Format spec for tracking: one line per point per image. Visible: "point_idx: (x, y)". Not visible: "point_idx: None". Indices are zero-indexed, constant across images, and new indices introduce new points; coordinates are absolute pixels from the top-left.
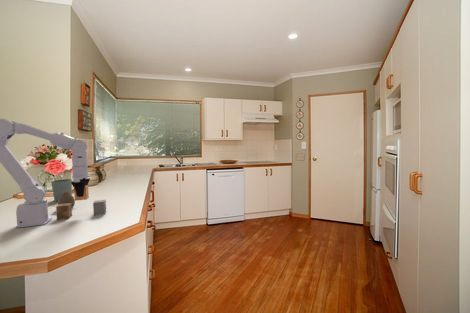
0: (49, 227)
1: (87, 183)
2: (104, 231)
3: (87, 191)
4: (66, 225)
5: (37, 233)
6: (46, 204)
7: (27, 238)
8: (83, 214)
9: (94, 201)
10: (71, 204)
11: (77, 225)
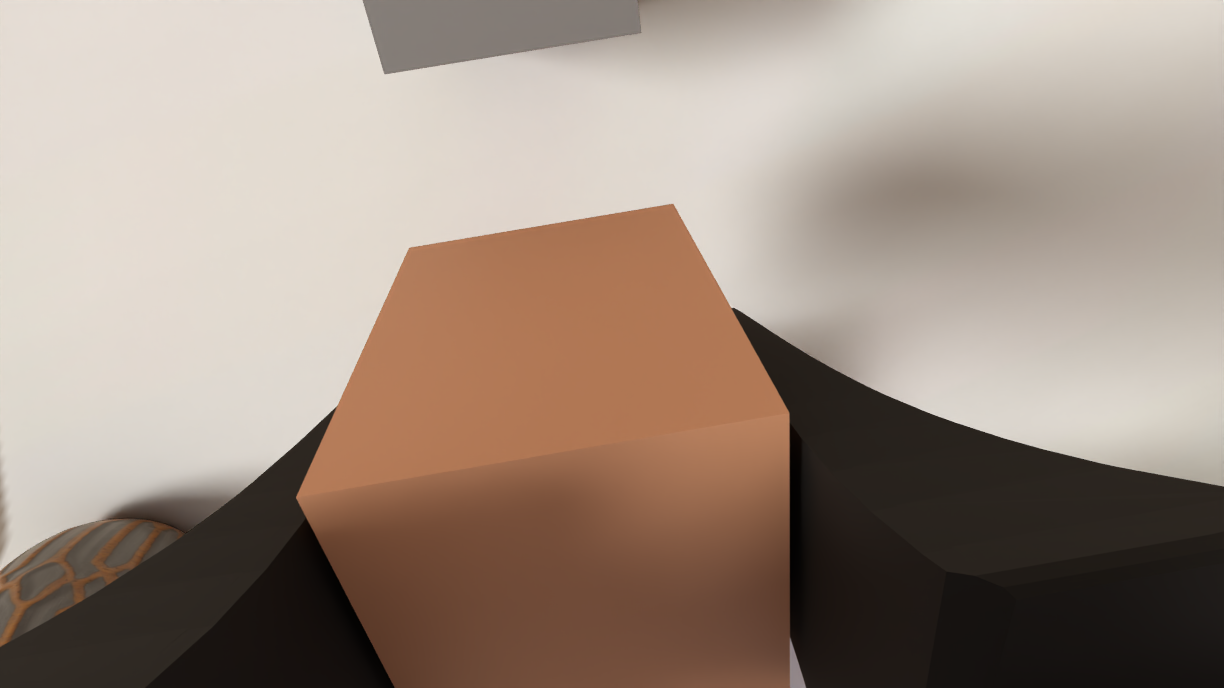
0: (946, 382)
1: (259, 580)
2: None
3: (511, 318)
4: (974, 232)
5: (1095, 395)
6: (792, 676)
7: (1198, 404)
8: (486, 224)
9: (479, 54)
10: (133, 554)
11: (1064, 80)
